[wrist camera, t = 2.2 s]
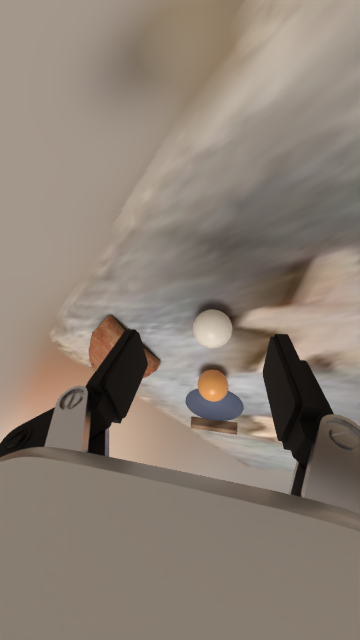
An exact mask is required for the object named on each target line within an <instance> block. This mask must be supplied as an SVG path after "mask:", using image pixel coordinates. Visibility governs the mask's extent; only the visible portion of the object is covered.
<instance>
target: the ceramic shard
mask: <svg viewBox="0 0 360 640" xmlns="http://www.w3.org/2000/svg"><path fill="white" fill-rule="evenodd" d="M124 331H125V330H124V329H123V328H122V326H121V325H119V323H118V322H117V321H116V320H115V319H114V317H112V316H109V317H107V318H106V319H105V320H104V321H103V322H102V323H100V325H99V326H98V327H97V328H96V330H95V331H93V332H92V337H91V341H90V348H89V357H90V362H91V365H92V368H93V370H94V371H95V372H96V370H97V369H98V367H99V366H100V365H101V363H102V362H103V360H104V359H105V358H106V356H107V355H108V353H109V352H110V351H111V349H112V348H113V346H114V345H115V344H116V342H117V341H118V339H119V338H120V337H121V335H122V334H123V332H124ZM144 351H145V355H146V358H147V361H148V366H147V369H146V371H145V373H144V376H143V378H144V377H147V376H149V375H150V374H151V373H153V372H155V371H156V370H157V369H158V367H159V365H160V360H158V359H157V358H155V357H154V356H153V355H151V354H150V353H149V352H148V351H147V350H145V349H144Z"/></svg>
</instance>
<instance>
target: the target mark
mask: <svg viewBox="0 0 360 640" xmlns="http://www.w3.org/2000/svg"><path fill="white" fill-rule="evenodd" d="M186 405H187V407H188V408H189V409H190V410H191V411H192V412H193V413H194V414H196V415H198V416H200V417H202V418H205V419H209V420H215V421H226V420H231V419H234V418H236V417H238V416H239V415H240V414H241V413H242V412H243V404H242V402H241V400H240V399H239V398H238V397H237V396H236V395H234V394H233V393H231V392H227V394H226V396H225V397H224V398H223V399H222V400H220V401H216V402H212V401H208V400H206V399H205V398H203V397H202V395H201V394H200V392H199V390H198V389H196V390H193V391H192V392H190V393H189V394H188V395H187V397H186Z"/></svg>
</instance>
